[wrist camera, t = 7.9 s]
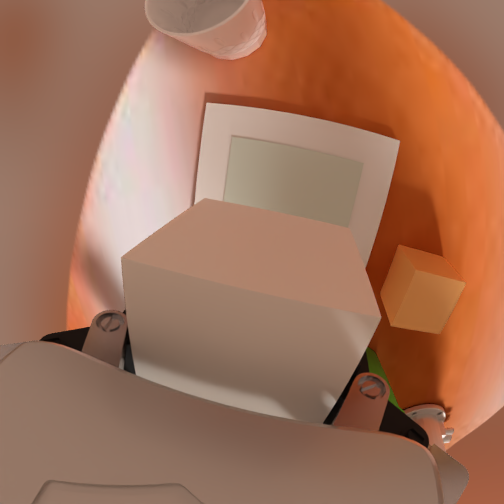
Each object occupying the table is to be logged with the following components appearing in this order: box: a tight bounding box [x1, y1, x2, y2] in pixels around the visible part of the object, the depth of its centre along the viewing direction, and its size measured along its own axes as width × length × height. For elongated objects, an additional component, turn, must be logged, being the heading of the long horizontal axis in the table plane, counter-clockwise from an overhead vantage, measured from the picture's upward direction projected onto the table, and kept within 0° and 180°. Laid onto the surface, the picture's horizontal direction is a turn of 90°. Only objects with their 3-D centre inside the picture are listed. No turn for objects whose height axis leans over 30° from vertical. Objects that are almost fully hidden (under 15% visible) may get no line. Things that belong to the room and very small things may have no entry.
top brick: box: [380, 244, 466, 334], centre depth 25 cm, size 6×6×6 cm
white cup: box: [144, 0, 267, 60], centre depth 17 cm, size 8×8×10 cm
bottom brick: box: [121, 198, 381, 424], centre depth 10 cm, size 6×8×6 cm
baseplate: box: [194, 103, 400, 268], centre depth 27 cm, size 18×18×1 cm
